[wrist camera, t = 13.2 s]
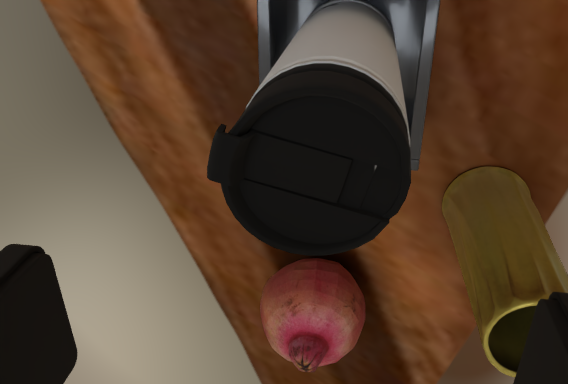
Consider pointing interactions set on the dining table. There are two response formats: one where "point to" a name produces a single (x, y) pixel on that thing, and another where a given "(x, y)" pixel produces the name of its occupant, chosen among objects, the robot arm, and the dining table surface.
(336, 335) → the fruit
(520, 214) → the vase
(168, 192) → the dining table surface
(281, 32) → the dark grey storage box
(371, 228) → the travel mug
